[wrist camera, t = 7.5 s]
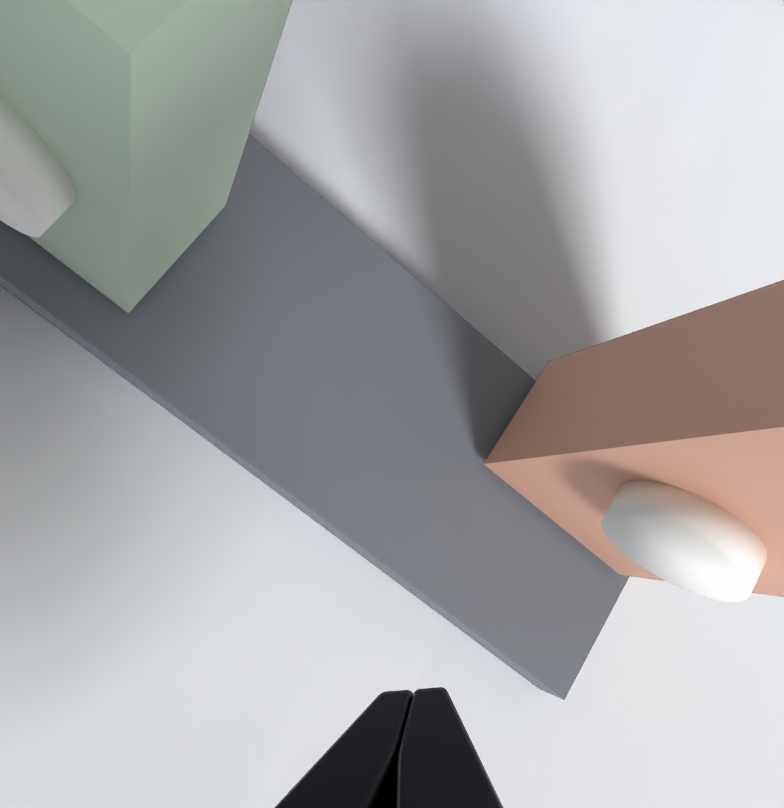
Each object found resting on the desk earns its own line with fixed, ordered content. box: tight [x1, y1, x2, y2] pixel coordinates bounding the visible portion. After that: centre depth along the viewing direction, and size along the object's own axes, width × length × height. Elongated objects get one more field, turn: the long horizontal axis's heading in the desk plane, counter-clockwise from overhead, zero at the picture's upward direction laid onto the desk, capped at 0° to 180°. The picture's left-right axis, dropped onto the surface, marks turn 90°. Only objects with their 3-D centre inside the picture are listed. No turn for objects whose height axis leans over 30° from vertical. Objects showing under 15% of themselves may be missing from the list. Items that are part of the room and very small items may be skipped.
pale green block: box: [0, 0, 292, 313], centre depth 12 cm, size 4×5×10 cm
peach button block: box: [484, 280, 784, 602], centre depth 15 cm, size 4×5×10 cm
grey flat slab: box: [0, 135, 629, 700], centre depth 19 cm, size 6×20×1 cm, turn 54°
